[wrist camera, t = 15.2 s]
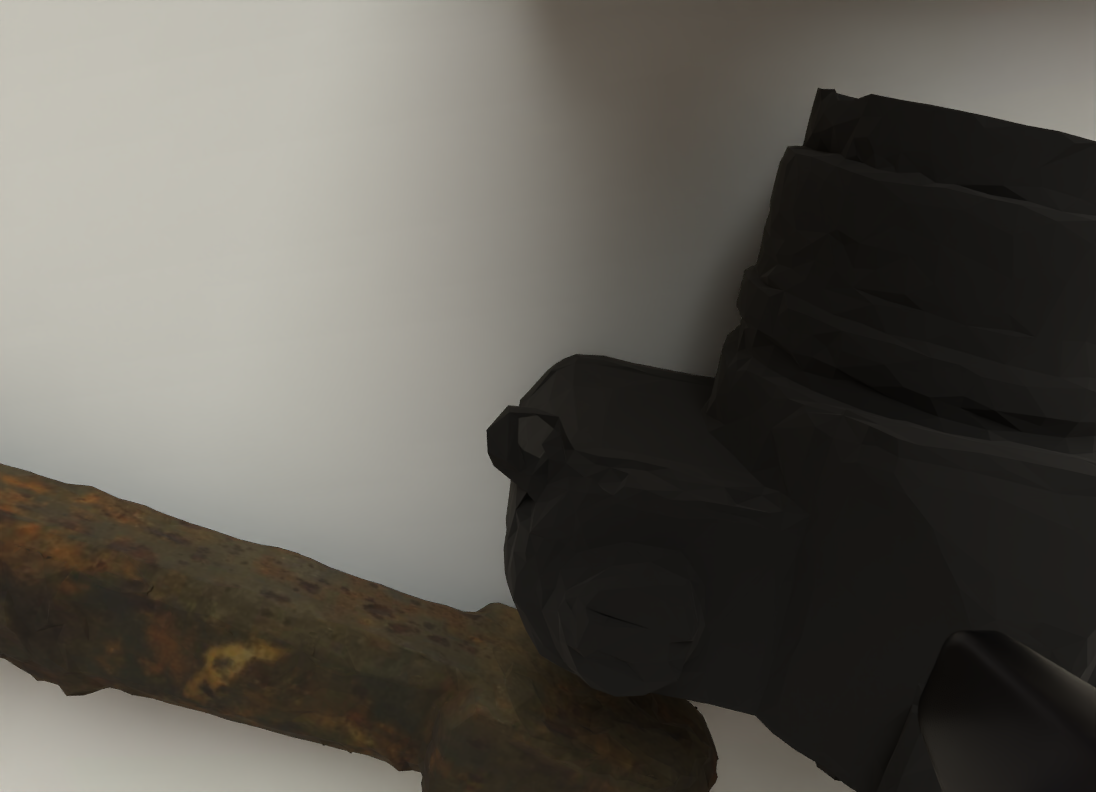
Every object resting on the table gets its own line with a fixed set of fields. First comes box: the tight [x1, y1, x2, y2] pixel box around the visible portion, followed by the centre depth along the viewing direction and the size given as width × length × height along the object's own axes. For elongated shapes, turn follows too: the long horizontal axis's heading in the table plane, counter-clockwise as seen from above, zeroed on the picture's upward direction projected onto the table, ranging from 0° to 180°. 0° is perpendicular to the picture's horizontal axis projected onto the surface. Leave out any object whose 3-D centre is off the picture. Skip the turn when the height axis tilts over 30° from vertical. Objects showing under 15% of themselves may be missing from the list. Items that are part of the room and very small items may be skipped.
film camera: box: [486, 88, 1096, 792], centre depth 16 cm, size 15×10×9 cm, turn 78°
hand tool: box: [0, 464, 719, 792], centre depth 19 cm, size 19×4×5 cm, turn 68°
